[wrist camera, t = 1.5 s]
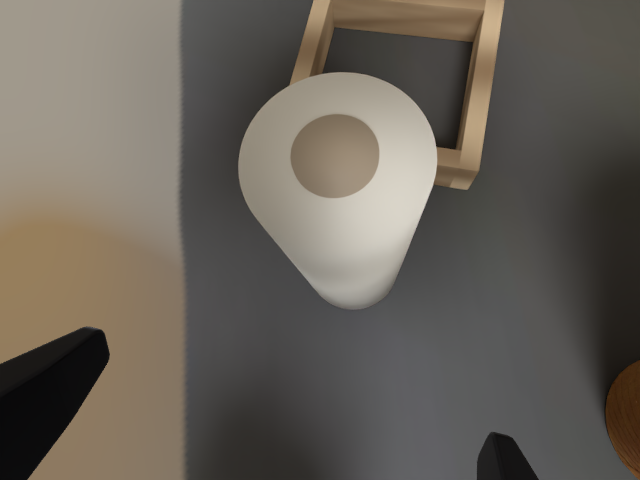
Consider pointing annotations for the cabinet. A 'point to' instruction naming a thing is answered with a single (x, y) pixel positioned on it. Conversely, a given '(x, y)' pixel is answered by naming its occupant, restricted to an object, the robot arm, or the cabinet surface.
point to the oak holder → (425, 21)
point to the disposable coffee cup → (625, 417)
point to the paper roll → (340, 181)
